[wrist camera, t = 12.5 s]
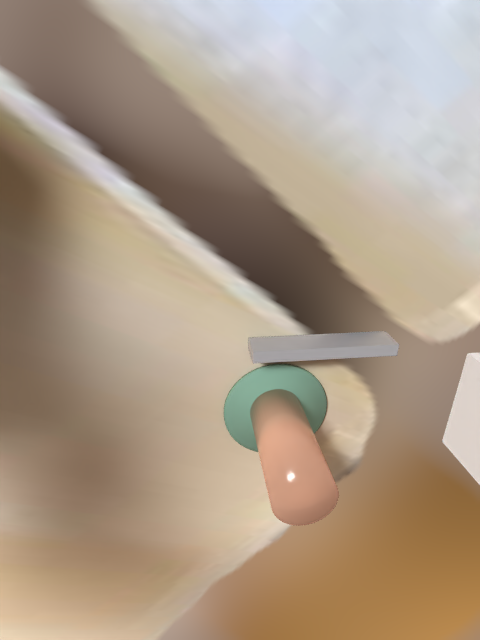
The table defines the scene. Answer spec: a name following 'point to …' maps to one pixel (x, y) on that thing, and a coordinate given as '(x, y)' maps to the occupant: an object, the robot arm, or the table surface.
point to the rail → (321, 347)
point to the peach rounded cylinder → (291, 460)
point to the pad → (265, 381)
